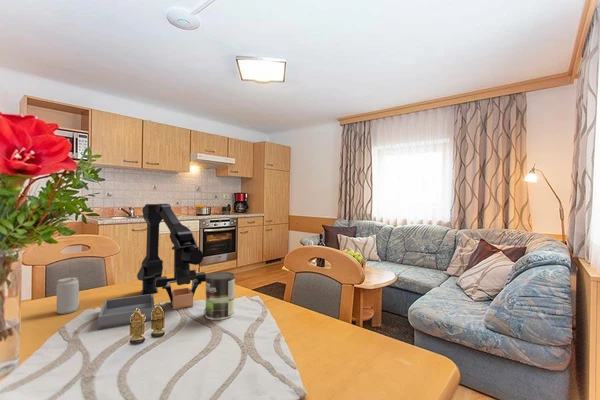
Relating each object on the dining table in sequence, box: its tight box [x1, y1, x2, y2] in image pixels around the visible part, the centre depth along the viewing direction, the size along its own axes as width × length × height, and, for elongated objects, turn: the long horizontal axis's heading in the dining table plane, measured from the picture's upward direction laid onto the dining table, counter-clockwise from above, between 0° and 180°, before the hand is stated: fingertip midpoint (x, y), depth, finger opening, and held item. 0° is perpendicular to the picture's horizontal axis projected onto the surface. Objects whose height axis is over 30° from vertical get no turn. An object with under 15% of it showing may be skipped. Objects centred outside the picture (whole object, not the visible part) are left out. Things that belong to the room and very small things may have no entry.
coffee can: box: [205, 271, 236, 321], centre depth 103 cm, size 10×10×14 cm
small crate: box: [171, 286, 194, 310], centre depth 114 cm, size 10×7×5 cm
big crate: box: [97, 293, 155, 331], centre depth 103 cm, size 18×16×4 cm
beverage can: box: [56, 277, 80, 315], centre depth 106 cm, size 6×6×12 cm
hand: (181, 301), depth 114 cm, fingers closed on small crate, 7 cm apart
